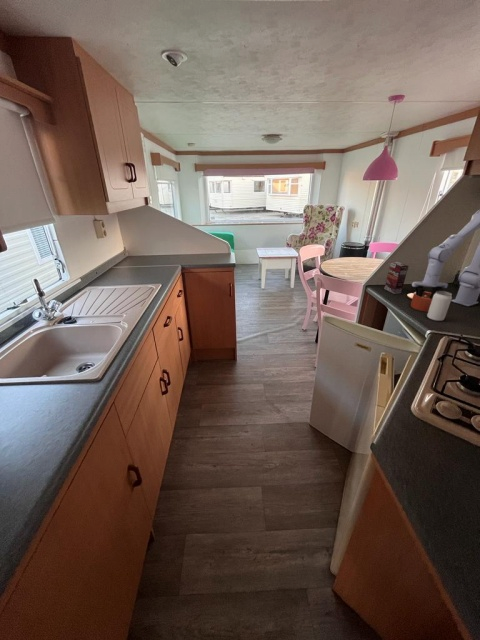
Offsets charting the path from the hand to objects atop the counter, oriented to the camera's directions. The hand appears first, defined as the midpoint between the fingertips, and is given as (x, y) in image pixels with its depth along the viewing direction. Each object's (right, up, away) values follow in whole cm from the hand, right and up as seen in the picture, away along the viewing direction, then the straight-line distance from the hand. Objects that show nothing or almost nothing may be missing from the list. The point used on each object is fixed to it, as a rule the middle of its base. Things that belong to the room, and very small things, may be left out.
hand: (424, 301), depth 129 cm
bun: (0, -1, +1) cm, 1 cm away
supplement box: (-3, +7, +22) cm, 24 cm away
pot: (0, -3, +1) cm, 3 cm away
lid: (+5, +3, +12) cm, 13 cm away
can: (-2, -8, -9) cm, 13 cm away
